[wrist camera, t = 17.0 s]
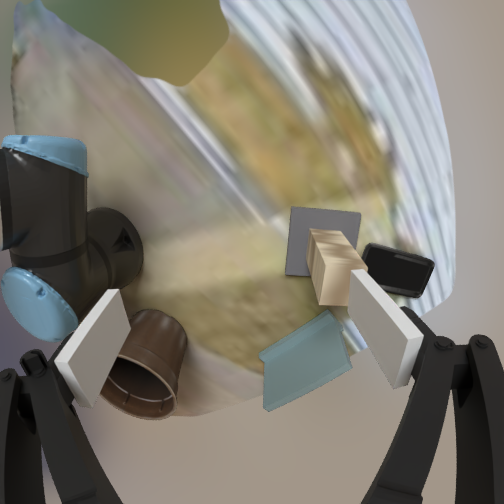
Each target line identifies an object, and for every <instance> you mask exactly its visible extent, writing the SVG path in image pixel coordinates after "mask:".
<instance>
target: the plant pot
mask: <svg viewBox="0 0 504 504" xmlns="http://www.w3.org/2000/svg"><path fill="white" fill-rule="evenodd" d="M129 324H130V327H131V330H130V332H129V334H128V336H127V338H126V340H125V342H124V344H123V345H122V347H121V350H120V352H119V354H118V356H117V358H116V360H115V362H114V364H113V366H112V368H111V370H110V372H109V374H108V376H107V378H106V381H105V383H104V385H103V387H102V389H101V391H100V394H99V395H100V396H101V397H102V398H103V399H104V400H105V401H107V402H108V403H109V404H110V405H112V406H113V407H115V408H116V409H118V410H120V411H122V412H124V413H126V414H128V415H131V416H133V417H137V418H140V419H146V420H162V419H165V418H168V417H170V416H171V415H172V414H173V413H174V412H175V410H176V407H177V398H176V394H177V389H178V383H177V381H178V377H179V372H180V368H181V364H182V360H183V356H184V352H185V349H186V345H187V338H186V334H185V332H184V330H183V328H182V326H181V325H180V324H179V323H178V322H177V321H176V320H175V319H174V318H173V317H169V316H167V315H165V314H164V313H163V312H161V311H158V310H143V311H140V312H138V313H137V314H136V315H134V317H133V318H132V319H131V320H130V321H129Z"/></svg>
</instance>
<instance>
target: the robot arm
mask: <svg viewBox="0 0 504 504" xmlns="http://www.w3.org/2000/svg"><path fill="white" fill-rule="evenodd" d="M1 146H2V149H0V251H3V250H6V249H9V251H10V257H11V263H12V267H10V268H8V269H7V270H6V272H5V274H4V275H3V277H2V280H1V290H2V295H3V298H4V301H5V303H6V305H7V307H8V308H9V310H10V312H11V313H12V315H13V316H14V318H15V319H16V320H17V321H18V322H19V323H20V324H21V326H22V327H23V328H25V329H26V330H27V331H28V332H29V333H30V334H32V335H33V336H35V337H37V338H39V339H41V340H43V341H46V342H59V341H61V340H63V339H64V340H63V342H62V343H61V345H60V346H59V347H58V348H57V349H58V350H56V351H55V352H54V354H53V355H52V357H51V358H50V360H49V361H48V362H47V360H46V358H45V356H44V354H43V352H42V351H41V350H39V349H34V350H30V351H28V352H26V353H25V354H24V355H23V356H22V357H21V359H20V364H21V366H22V368H23V370H24V372H25V373H26V375H27V376H18V374H17V373H16V371H15V369H12V368H8V369H5V370H3V371H1V372H0V504H46V503H45V495H44V487H43V475H42V460H41V459H42V456H41V444H42V448H43V451H44V454H45V458H46V461H47V464H48V467H49V470H50V473H51V475H52V479H53V481H54V484H55V486H56V489H57V492H58V494H59V497H60V499H61V502H62V504H123V503H122V501H121V500H120V498H119V497H118V495H117V493H116V491H115V490H114V488H113V486H112V485H111V483H110V481H109V480H108V478H107V476H106V474H105V472H104V471H103V469H102V467H101V465H100V463H99V461H98V459H97V457H96V455H95V453H94V451H93V449H92V447H91V445H90V443H89V441H88V439H87V436H86V434H85V432H84V430H83V427H82V425H81V423H80V420H79V418H78V415H77V413H76V410H75V408H74V406H73V405H72V401H73V399H74V398H75V399H76V401H77V403H78V404H79V406H82V407H88V408H93V407H94V405H95V402H96V400H97V398H98V396H99V394H100V391H101V389H102V387H103V385H104V383H105V381H106V378H107V376H108V374H109V372H110V370H111V368H112V366H113V364H114V362H115V360H116V358H117V356H118V354H119V352H120V350H121V347H122V345H123V344H124V342H125V340H126V338H127V336H128V334H129V332H130V330H131V327H130V324H129V321H128V318H127V315H126V311H125V308H124V305H123V301H122V298H121V294H120V290H119V289H121V288H123V287H125V286H127V285H128V284H129V283H130V282H131V281H132V280H133V279H134V278H135V277H136V276H137V274H138V273H139V271H140V269H141V266H142V262H143V247H142V243H141V239H140V237H139V234H138V232H137V230H136V229H135V227H134V226H133V224H132V223H131V222H130V221H129V220H128V219H127V218H126V217H125V216H124V215H122V214H121V213H119V212H118V211H116V210H113V209H110V208H103V207H101V208H95V209H92V210H90V211H88V212H87V178H88V177H89V174H88V172H87V148H86V146H85V144H84V143H83V142H82V141H80V140H77V139H73V138H65V137H55V136H37V135H30V136H28V135H9V136H6V137H5V138H4V140H3V142H2V144H1ZM89 312H90V313H89ZM347 312H348V314H349V316H350V317H351V319H352V321H353V322H354V324H355V325H356V327H357V329H358V330H359V332H360V334H361V335H362V337H363V339H364V340H365V342H366V344H367V345H368V347H369V349H370V350H371V352H372V353H373V355H374V357H375V359H376V360H377V362H378V364H379V365H380V367H381V369H382V371H383V372H384V374H385V376H386V377H387V379H388V381H389V383H390V385H391V386H392V388H393V389H395V388H398V387H402V386H406V385H408V383H409V380H410V377H411V375H412V376H413V378H414V380H415V383H414V385H413V388H412V391H411V393H410V396H409V400H408V403H407V406H406V409H405V411H404V414H403V417H402V419H401V422H400V424H399V427H398V429H397V432H396V434H395V436H394V439H393V441H392V443H391V446H390V448H389V450H388V452H387V454H386V457H385V459H384V461H383V463H382V465H381V467H380V469H379V471H378V473H377V475H376V477H375V479H374V481H373V482H372V485H371V486H370V488H369V490H368V492H367V494H366V495H365V497H364V499H363V500H362V502H361V504H422V500H423V497H422V496H421V493H422V490H423V487H424V484H425V482H426V479H427V477H428V474H429V471H430V468H431V465H432V462H433V459H434V456H435V452H436V449H437V445H438V442H439V438H440V435H441V431H442V427H443V422H444V418H445V414H446V409H447V405H448V399H449V395H450V390H452V394H453V403H454V414H455V427H456V447H457V474H456V495H455V496H456V497H455V504H504V370H503V367H502V364H501V362H500V359H499V356H498V353H497V351H496V348H495V345H494V343H493V341H492V340H491V339H490V338H488V337H487V336H485V335H479V334H478V335H474V336H472V337H471V338H470V340H469V344H468V345H455V343H454V342H453V341H452V340H451V339H449V338H447V337H444V336H436V335H435V334H434V333H433V332H432V331H431V330H430V328H429V327H428V326H427V325H426V324H425V323H424V322H423V321H422V320H421V319H420V318H418V315H417V314H416V313H415V312H414V311H413V310H411V309H409V308H407V307H405V306H403V307H398V306H397V305H396V303H395V302H394V301H393V300H392V299H391V298H390V297H389V296H388V295H387V294H386V293H385V291H384V290H383V289H382V288H381V287H380V286H379V285H378V284H377V283H376V282H375V281H374V280H373V279H372V278H371V277H370V275H369V274H368V273H367V272H366V271H365V270H364V269H358V270H351V276H350V289H349V301H348V311H347ZM86 316H87V317H86ZM85 317H86V318H85ZM84 318H85V319H84ZM83 319H84V320H83ZM82 321H83V322H82ZM81 322H82V323H81ZM80 323H81V324H80ZM79 324H80V326H79V327H78V325H79ZM77 327H78V328H77ZM75 329H77V330H76V331H75V332H72V331H74V330H75ZM70 332H72V333H71V334H70Z"/></svg>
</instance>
